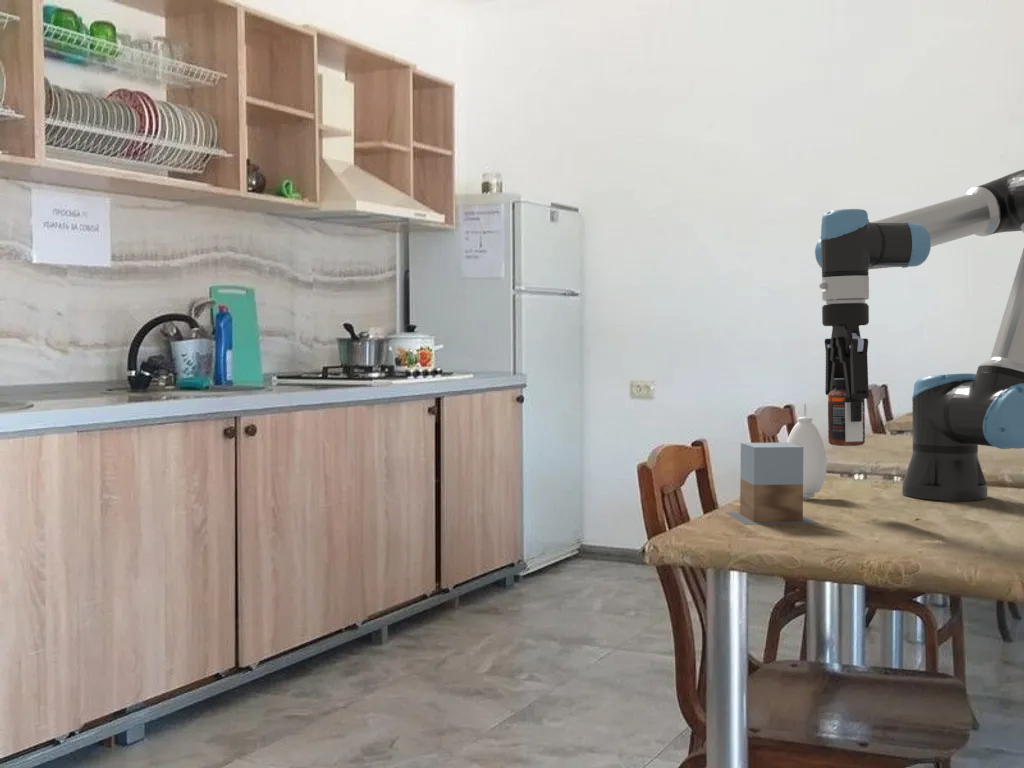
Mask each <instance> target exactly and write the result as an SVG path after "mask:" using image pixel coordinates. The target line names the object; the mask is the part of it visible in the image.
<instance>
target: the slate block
mask: <svg viewBox="0 0 1024 768" xmlns="http://www.w3.org/2000/svg"><path fill="white" fill-rule="evenodd" d="M740 479H742V480H745V481H747V482H749V483H751V484H753V485H787V484H803V447H801V446H798V445H794V444H791V443H786V442H740Z"/></svg>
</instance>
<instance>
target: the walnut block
mask: <svg viewBox="0 0 1024 768" xmlns="http://www.w3.org/2000/svg"><path fill="white" fill-rule="evenodd" d="M739 481H740V488H739V489H740V492H739V494H740V495H739V497H740V499H739V500H740V501H739V502H740V503H739V504H740V506H739V508H740V509H739V512H740V514H741V515H742V516H744V517H746V518H748V519H749V520H751V521H753V522H803V516H804V500H803V484H787V485H753V484H751V483H749V482H747V481H745V480H742V479H740V480H739Z"/></svg>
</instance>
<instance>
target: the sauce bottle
mask: <svg viewBox="0 0 1024 768" xmlns="http://www.w3.org/2000/svg"><path fill="white" fill-rule="evenodd" d="M785 443H791V444H794V445H798V446H801V447H803V501H804V500H805V501H806V500H810V498H813V497H815V494H816V493H819V492H820V491H821V489H822V487H823V486H824V482H825V480H826V477H827V469H828V467H827V454H826V448H825V445H824V441H823V439H822V437H821V434H820V432H819V430H818V428H817V426H816V425H815V424H814V423H813V418H812V417H809V416H807V404H806V403H804V404H803V416H800V417H797V422H796V424H795V425H794V426H793V427H792V429H791V431H790V433H789V435H788V437H787V440H786V442H785Z"/></svg>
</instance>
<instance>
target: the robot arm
mask: <svg viewBox="0 0 1024 768" xmlns="http://www.w3.org/2000/svg"><path fill="white" fill-rule="evenodd" d="M868 216H869V214H868V212H867V211H866V209H861V208H845V209H843V208H841V209H834V210H829V211H826V212H825V213H824V214H823V215H822V218H821V226H820V228H821V229H820V238H819V239H818V240H817V242H816V245H815V247H814V257H815V260H816V262H817V265H818V266H819V267H820V268H821V282H820V284H819V289H821V292H822V293H821V296H822V301H824V302H825V304H823V306H821V312H822V313H821V315H822V316H821V317H822V318H821V323H822V325H823V326H824V327H832V329H831V337H830V338H825V339H824V348H825V387H824V388H825V390H824V391H825V396H828V394H829V393H830V392H831V391H832V390H833V389H834V388H835V387H834V385H833V384H834V378H845V384H846V392H847V398H845V399H844V400H843V402H845V441H846V442H856V441H863V402H864V401H865V400H867V399H869V397H870V396H869V395H870V393H869V368H868V349H869V339H868V337H867V338H862V337H861V331H860V326H867V325H868V324H869V323H870V314H869V313H870V308H869V307H870V306H869V304H868V303H867V302H866V301H867V300H869V298H870V281H869V280H870V276H869V270H875V269H876V270H877V269H878V270H879V269H885V268H887V269H888V268H902V269H905V268H909V267H910V268H912V267H918V266H920V265H922V264H923V263H925V262H926V260H927V259H928V257H929V255H930V252H931V250H932V249H931V248H932V247H935V246H938V245H939V246H940V245H943V244H946V243H949V242H953V241H955V240H960V239H962V238H965V237H969V236H972V235H975V236H978V237H987V236H990V235H995V234H999V233H1001V234H1002V233H1009V232H1022V233H1024V169H1020V170H1018V171H1016V172H1012V173H1009V174H1007V175H1004V176H1002V177H1000V178H997V179H994V180H992V181H990V182H987V183H984V184H981V185H978V186H974V187H971V188H970V189H968V190H967V191H966V192H965V193H964V195H962V196H958V197H955V198H951V199H949V200H948V199H947V200H944V201H941V202H937V203H934V204H931V205H927V206H924V207H921V208H920V207H919V208H917V209H913V210H910V211H907V212H906V211H905V212H902V213H900V214H896V215H892V216H888V217H885V218H883V219H878V220H875V221H872V222H871V221H870V219H869V217H868ZM989 358H990V359H988V360H986V361H985V362H981V364H979V365H978V366H977V371H976V373H970V372H969V373H967V372H966V373H947V374H939V375H938V374H936V375H929V376H928V375H927V376H922V377H920V378H918V379H916V381H915V382H914V384H913V393H912V394H913V395H912V398H911V401H912V453H911V458H910V461H909V464H908V466H907V469H906V472H905V473H904V475H905V476H904V478H903V481H902V487H901V488H902V492H901V494H902V495H904V496H906V497H910V498H916V499H917V498H918V499H924V500H925V499H926V500H936V501H956V502H957V501H980V500H985V499H987V498H988V484H987V481H986V477H985V474H984V471H983V469H982V465H981V463H980V460H979V446H985V447H991V448H997V449H1002V450H1010V449H1015V450H1016V449H1017V450H1018V449H1024V248H1023V250H1022V252H1021V256H1020V258H1019V263H1018V265H1017V268H1016V272H1015V276H1014V279H1013V281H1012V285H1011V289H1010V292H1009V294H1008V298H1007V302H1006V305H1005V309H1004V312H1003V315H1002V319H1001V322H1000V325H999V329H998V332H997V335H996V338H995V341H994V345H993V347H992V352H991V355H990V357H989Z"/></svg>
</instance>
